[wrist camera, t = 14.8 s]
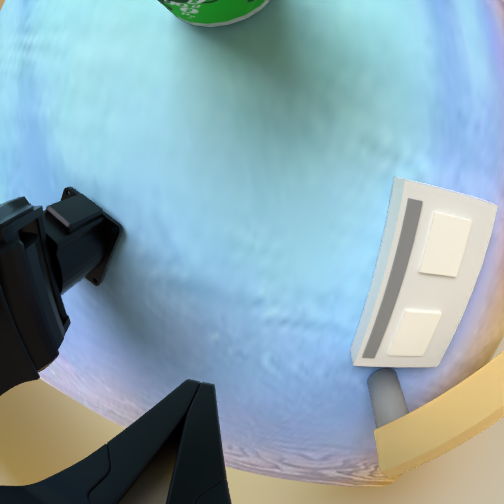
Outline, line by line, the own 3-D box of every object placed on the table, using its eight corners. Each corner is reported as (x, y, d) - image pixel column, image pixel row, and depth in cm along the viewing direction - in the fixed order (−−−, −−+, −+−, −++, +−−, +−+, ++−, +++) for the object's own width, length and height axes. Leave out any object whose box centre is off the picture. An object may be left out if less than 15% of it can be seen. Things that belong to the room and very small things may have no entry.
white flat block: (430, 352, 21) (438, 369, 19) (350, 349, 22) (353, 368, 20) (483, 199, 16) (500, 206, 14) (394, 176, 17) (406, 181, 15)
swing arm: (374, 393, 23) (390, 479, 15) (362, 378, 23) (378, 471, 14) (521, 290, 18) (578, 350, 9) (516, 268, 17) (581, 327, 8)
